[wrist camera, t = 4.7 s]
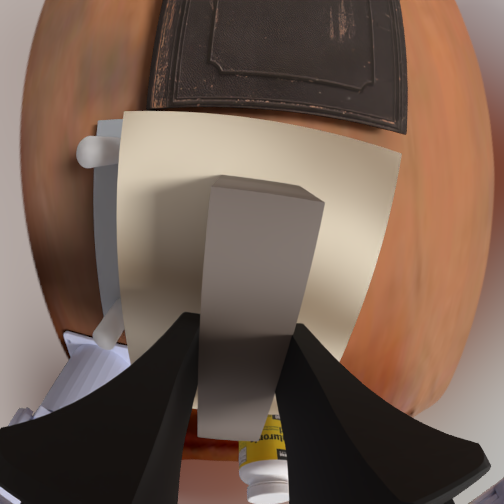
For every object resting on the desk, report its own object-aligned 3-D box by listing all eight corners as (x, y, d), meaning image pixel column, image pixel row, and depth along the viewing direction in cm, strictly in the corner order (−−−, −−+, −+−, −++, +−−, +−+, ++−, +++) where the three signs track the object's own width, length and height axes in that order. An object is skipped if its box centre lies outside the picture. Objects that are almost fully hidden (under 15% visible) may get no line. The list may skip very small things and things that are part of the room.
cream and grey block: (309, 395, 15) (323, 455, 11) (144, 379, 14) (124, 439, 10) (383, 152, 10) (453, 160, 6) (139, 115, 9) (78, 100, 5)
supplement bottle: (297, 408, 24) (313, 490, 15) (279, 433, 26) (288, 506, 17) (246, 402, 23) (248, 491, 14) (233, 428, 25) (232, 505, 16)
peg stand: (243, 336, 20) (243, 383, 16) (109, 317, 20) (84, 356, 15) (272, 129, 15) (284, 119, 11) (105, 121, 14) (62, 115, 10)
